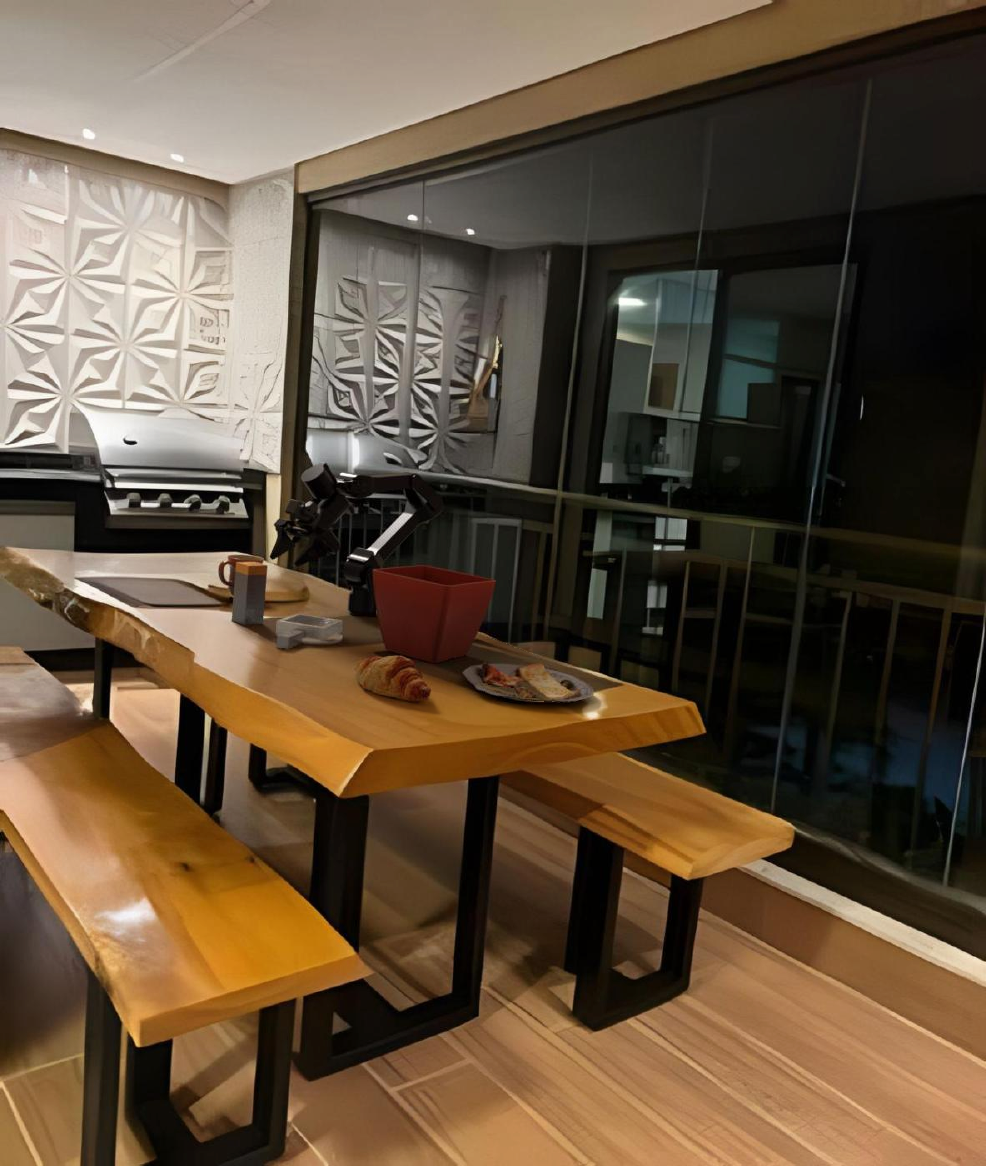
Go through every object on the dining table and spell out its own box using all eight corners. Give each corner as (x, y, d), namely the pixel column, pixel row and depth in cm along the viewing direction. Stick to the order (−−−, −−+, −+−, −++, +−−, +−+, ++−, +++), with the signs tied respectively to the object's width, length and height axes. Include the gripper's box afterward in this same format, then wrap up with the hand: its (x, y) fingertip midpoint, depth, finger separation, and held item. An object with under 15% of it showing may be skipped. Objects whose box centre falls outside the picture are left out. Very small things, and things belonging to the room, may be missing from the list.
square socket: (292, 626, 214) (293, 610, 214) (351, 636, 211) (353, 620, 211) (249, 643, 194) (250, 626, 194) (315, 653, 191) (316, 636, 191)
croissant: (342, 695, 177) (327, 658, 174) (383, 666, 183) (370, 630, 179) (413, 726, 162) (399, 687, 159) (456, 693, 168) (443, 655, 164)
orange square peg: (250, 619, 217) (254, 561, 215) (262, 623, 214) (267, 565, 212) (231, 620, 213) (236, 562, 211) (244, 625, 210) (248, 565, 208)
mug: (245, 594, 246) (248, 554, 245) (268, 600, 241) (271, 559, 239) (206, 597, 236) (209, 555, 235) (228, 603, 231) (232, 561, 230)
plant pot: (489, 657, 206) (498, 579, 204) (439, 670, 190) (448, 585, 187) (416, 639, 216) (423, 564, 213) (362, 650, 199) (370, 569, 197)
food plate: (449, 670, 190) (451, 652, 190) (559, 675, 198) (561, 658, 197) (486, 711, 167) (489, 691, 166) (609, 715, 174) (612, 696, 174)
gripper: (284, 483, 225) (239, 530, 219) (334, 493, 213) (288, 543, 206) (308, 517, 232) (266, 564, 226) (359, 529, 220) (315, 578, 213)
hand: (283, 561), depth 218 cm, fingers open, 9 cm apart
